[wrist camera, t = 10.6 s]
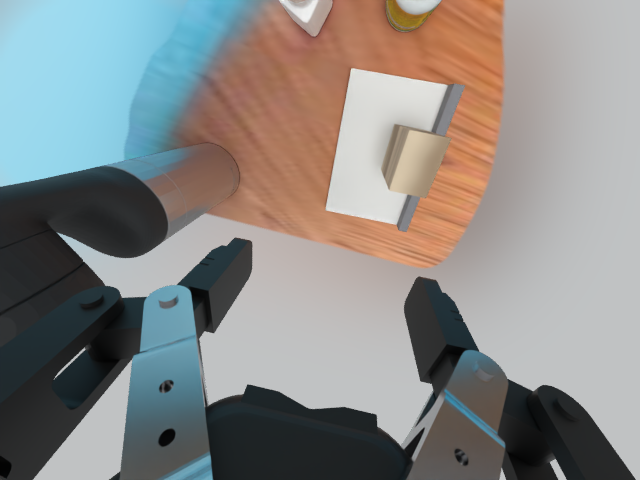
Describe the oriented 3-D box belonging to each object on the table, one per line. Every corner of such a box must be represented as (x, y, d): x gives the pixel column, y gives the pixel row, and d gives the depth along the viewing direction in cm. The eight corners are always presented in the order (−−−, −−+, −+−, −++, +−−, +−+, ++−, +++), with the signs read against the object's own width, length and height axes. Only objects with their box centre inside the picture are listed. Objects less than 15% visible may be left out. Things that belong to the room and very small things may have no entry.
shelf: (326, 205, 39) (323, 215, 36) (351, 70, 30) (351, 65, 26) (403, 221, 39) (407, 232, 35) (454, 88, 29) (466, 85, 26)
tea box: (380, 169, 33) (389, 190, 25) (394, 123, 30) (409, 129, 22) (409, 175, 33) (427, 198, 25) (425, 129, 30) (453, 138, 22)
